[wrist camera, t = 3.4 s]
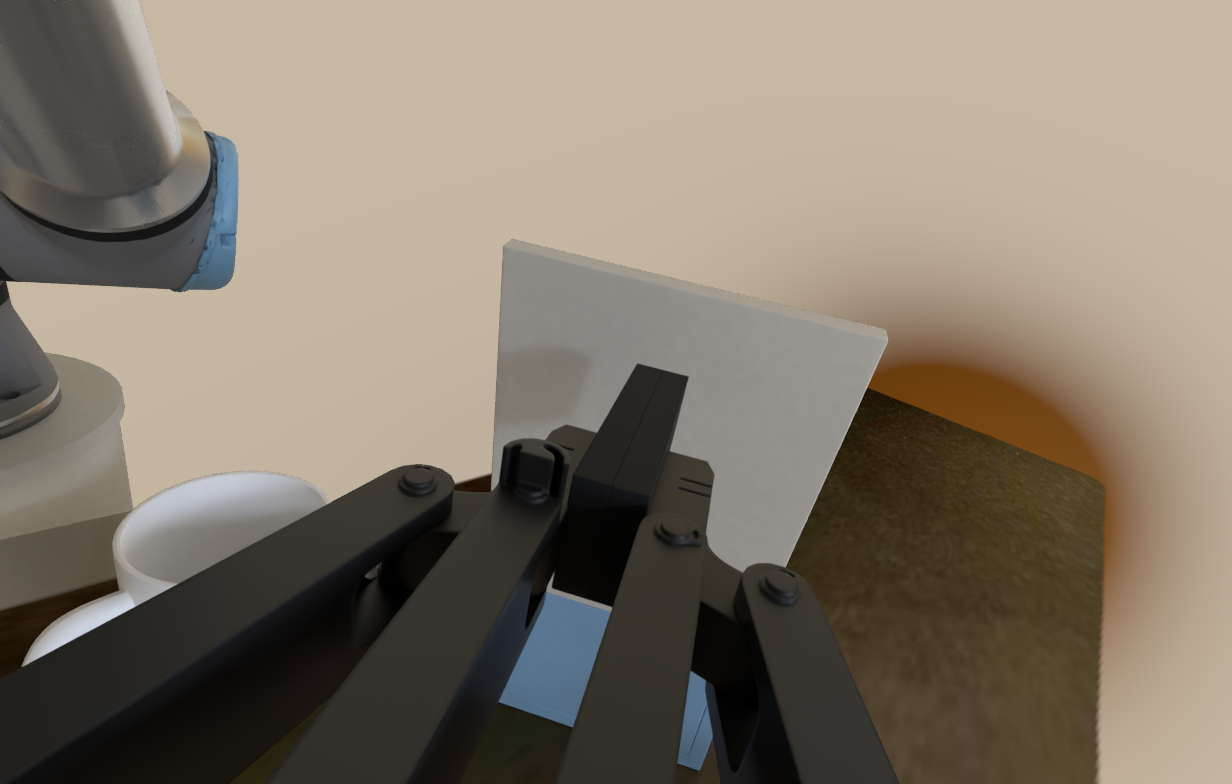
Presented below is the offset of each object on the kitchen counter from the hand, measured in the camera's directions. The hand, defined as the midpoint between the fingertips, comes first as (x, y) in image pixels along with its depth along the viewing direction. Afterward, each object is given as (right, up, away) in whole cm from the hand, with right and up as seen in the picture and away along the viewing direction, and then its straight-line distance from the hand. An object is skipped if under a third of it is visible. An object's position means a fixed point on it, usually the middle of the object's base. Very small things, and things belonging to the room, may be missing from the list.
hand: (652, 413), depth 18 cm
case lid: (0, -3, +7) cm, 8 cm away
